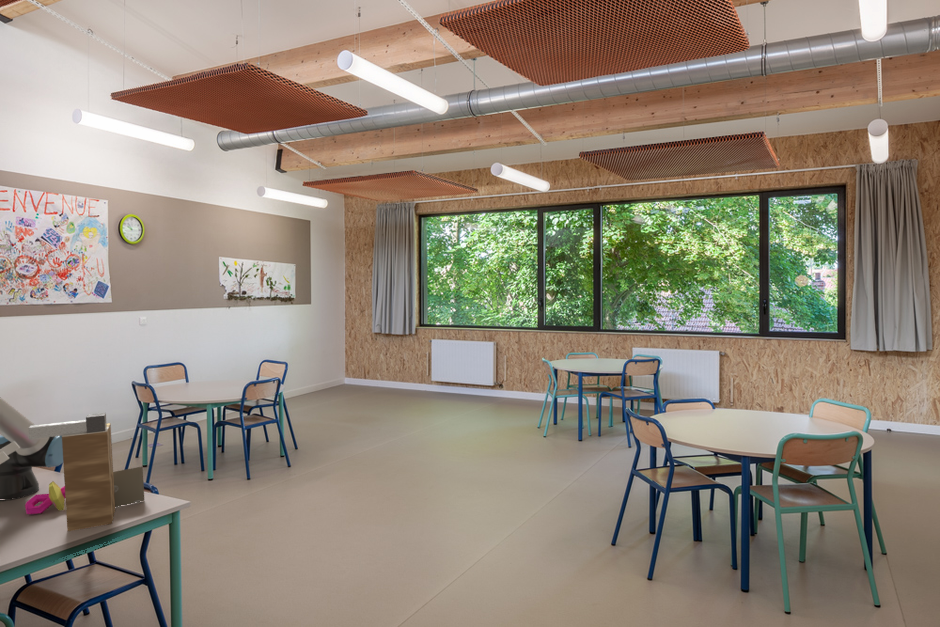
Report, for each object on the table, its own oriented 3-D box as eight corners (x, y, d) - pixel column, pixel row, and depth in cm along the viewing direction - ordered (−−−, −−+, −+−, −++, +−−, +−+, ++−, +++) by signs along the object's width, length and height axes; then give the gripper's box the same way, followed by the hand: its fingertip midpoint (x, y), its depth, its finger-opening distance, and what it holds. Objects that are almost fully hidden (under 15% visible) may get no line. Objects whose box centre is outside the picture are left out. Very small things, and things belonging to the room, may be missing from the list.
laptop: (138, 493, 220) (136, 458, 219) (144, 502, 210) (142, 466, 209) (80, 505, 208) (78, 469, 208) (84, 515, 199) (82, 477, 198)
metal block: (31, 436, 184) (30, 420, 184) (106, 427, 193) (105, 412, 193) (28, 439, 180) (27, 423, 180) (105, 430, 189) (104, 415, 189)
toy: (30, 510, 206) (17, 490, 201) (87, 485, 216) (77, 465, 210) (33, 529, 200) (21, 508, 194) (93, 502, 209) (82, 482, 204)
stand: (73, 517, 196) (68, 427, 195) (115, 510, 202) (110, 423, 200) (67, 531, 185) (61, 436, 183) (112, 523, 190) (106, 431, 189)
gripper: (-41, 491, 184) (28, 449, 192) (-71, 519, 162) (10, 469, 170) (-59, 473, 182) (13, 431, 190) (-91, 498, 160) (-8, 449, 168)
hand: (12, 449), depth 180 cm, fingers open, 13 cm apart
